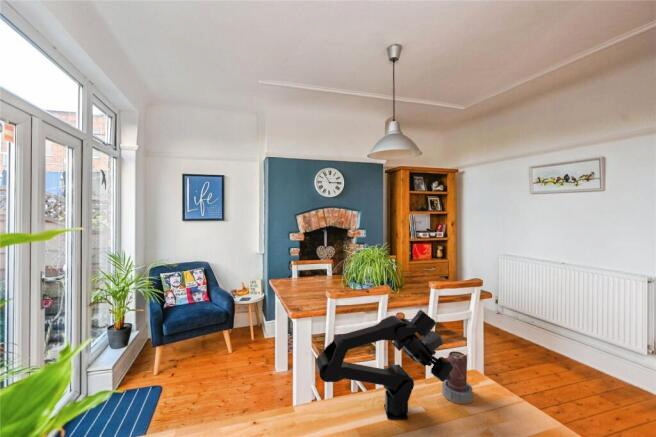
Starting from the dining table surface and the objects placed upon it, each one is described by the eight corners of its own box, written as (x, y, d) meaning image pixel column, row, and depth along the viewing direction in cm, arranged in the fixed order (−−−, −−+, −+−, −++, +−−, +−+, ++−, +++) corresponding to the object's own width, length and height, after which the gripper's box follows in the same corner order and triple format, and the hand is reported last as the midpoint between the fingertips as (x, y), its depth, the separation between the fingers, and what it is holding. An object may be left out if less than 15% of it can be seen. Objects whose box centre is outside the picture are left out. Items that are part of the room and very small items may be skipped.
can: (470, 398, 103) (471, 358, 103) (453, 399, 103) (454, 359, 102) (460, 387, 109) (461, 350, 109) (444, 388, 109) (445, 351, 108)
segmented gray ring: (448, 404, 101) (448, 394, 101) (437, 386, 111) (438, 377, 111) (478, 404, 101) (478, 394, 101) (464, 386, 111) (464, 377, 111)
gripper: (449, 337, 92) (475, 365, 96) (411, 316, 109) (434, 341, 113) (428, 367, 89) (455, 395, 94) (392, 341, 106) (417, 365, 111)
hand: (440, 371), depth 103 cm, fingers open, 9 cm apart
